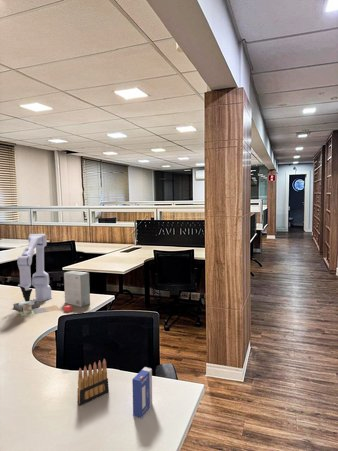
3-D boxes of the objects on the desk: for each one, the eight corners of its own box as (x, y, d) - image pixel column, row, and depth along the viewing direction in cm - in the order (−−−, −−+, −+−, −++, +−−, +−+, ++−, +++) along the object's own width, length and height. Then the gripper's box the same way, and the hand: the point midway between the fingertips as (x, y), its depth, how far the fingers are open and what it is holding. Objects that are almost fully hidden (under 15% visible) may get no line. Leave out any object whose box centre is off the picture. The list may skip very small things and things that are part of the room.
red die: (67, 310, 192) (67, 304, 192) (71, 310, 191) (71, 305, 191) (64, 312, 189) (63, 306, 189) (68, 312, 188) (68, 306, 188)
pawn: (30, 311, 191) (30, 302, 191) (31, 313, 188) (31, 304, 187) (23, 312, 189) (23, 303, 189) (24, 314, 186) (23, 305, 185)
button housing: (30, 303, 206) (30, 299, 205) (39, 307, 199) (39, 303, 198) (13, 308, 197) (13, 304, 197) (22, 312, 190) (21, 307, 190)
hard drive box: (90, 303, 204) (89, 272, 202) (81, 307, 197) (80, 275, 196) (73, 300, 212) (72, 270, 210) (64, 303, 206) (63, 272, 204)
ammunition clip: (80, 406, 103) (78, 370, 102) (77, 403, 104) (76, 367, 103) (109, 392, 110) (108, 358, 109) (106, 390, 111) (105, 356, 110)
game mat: (56, 305, 201) (56, 305, 201) (59, 309, 193) (59, 309, 193) (19, 311, 190) (19, 311, 190) (21, 316, 183) (21, 316, 183)
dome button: (30, 303, 204) (29, 299, 204) (37, 306, 198) (37, 302, 198) (15, 307, 197) (15, 303, 197) (22, 310, 191) (22, 306, 191)
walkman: (141, 418, 97) (140, 380, 96) (133, 415, 98) (132, 378, 97) (153, 403, 104) (152, 367, 103) (145, 401, 105) (144, 365, 104)
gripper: (16, 274, 191) (17, 297, 192) (19, 280, 178) (20, 304, 179) (29, 273, 194) (30, 295, 195) (32, 278, 182) (33, 301, 183)
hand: (26, 299), depth 188 cm, fingers open, 7 cm apart
